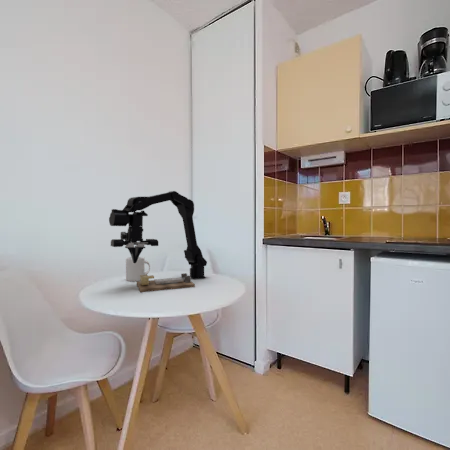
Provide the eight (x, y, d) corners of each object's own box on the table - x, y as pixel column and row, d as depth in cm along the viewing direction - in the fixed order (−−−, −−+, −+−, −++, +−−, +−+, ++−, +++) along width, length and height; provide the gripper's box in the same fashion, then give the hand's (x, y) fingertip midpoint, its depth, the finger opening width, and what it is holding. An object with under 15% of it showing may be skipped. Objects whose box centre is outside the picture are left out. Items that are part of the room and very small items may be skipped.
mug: (153, 279, 138) (153, 257, 138) (130, 282, 130) (130, 259, 130) (146, 276, 144) (146, 255, 144) (123, 279, 137) (123, 257, 136)
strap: (184, 279, 130) (184, 277, 130) (187, 281, 126) (187, 278, 126) (154, 282, 124) (154, 279, 124) (155, 284, 121) (155, 281, 121)
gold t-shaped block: (152, 281, 125) (152, 274, 125) (154, 284, 120) (154, 276, 120) (140, 282, 123) (140, 275, 122) (141, 285, 118) (141, 277, 118)
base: (185, 280, 136) (185, 271, 136) (194, 286, 122) (194, 277, 122) (136, 284, 127) (136, 275, 127) (140, 292, 113) (140, 282, 113)
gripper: (150, 226, 131) (149, 259, 131) (108, 225, 120) (107, 261, 120) (159, 226, 122) (158, 262, 122) (114, 226, 111) (113, 265, 111)
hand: (134, 263), depth 119 cm, fingers closed
